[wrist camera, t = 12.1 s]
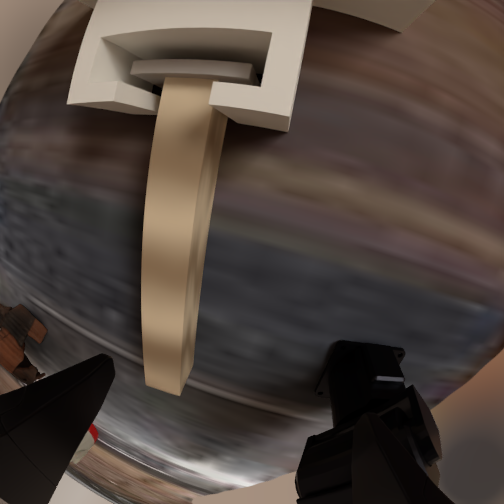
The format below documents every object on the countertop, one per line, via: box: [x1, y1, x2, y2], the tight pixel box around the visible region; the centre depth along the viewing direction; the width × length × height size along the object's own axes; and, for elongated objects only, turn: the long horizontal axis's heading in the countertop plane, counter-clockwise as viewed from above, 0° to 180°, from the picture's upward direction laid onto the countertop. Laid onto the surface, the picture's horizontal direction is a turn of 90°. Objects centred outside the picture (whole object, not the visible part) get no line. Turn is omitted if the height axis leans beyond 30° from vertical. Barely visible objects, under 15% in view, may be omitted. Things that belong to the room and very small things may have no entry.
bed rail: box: [130, 59, 261, 396], centre depth 17 cm, size 23×6×5 cm, turn 169°
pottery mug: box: [0, 304, 47, 385], centre depth 24 cm, size 12×10×8 cm
